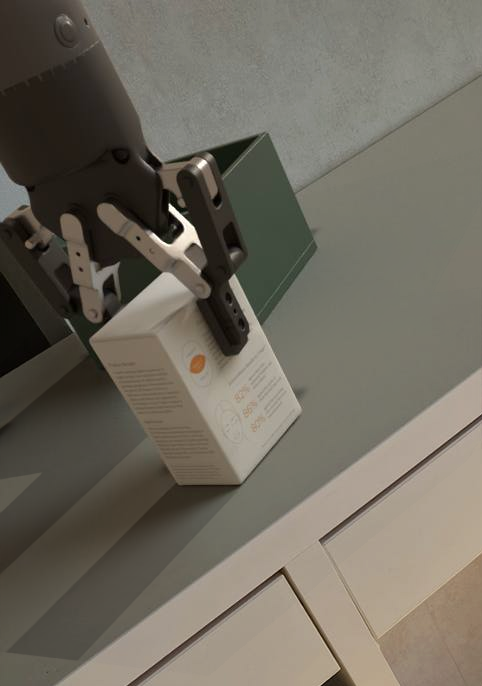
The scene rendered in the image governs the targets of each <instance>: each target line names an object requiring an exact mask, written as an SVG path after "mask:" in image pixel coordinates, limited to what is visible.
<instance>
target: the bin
mask: <svg viewBox="0 0 482 686" xmlns="http://www.w3.org/2000/svg"><path fill="white" fill-rule="evenodd" d="M269 133H270V132H269V131H263V132H259V133H255V134H253V135H249V136H246V137H242V138H239V139H236V140H232V141H229V142H227V143H226V142H225V143H222V144H219V145H216V146H213V147H208V148H205V149H202V150H199V151H195V152H193V153H189V154H186V155H183V156H178V157H175V158H172V159H169V160H166V161H163V162H164V163H165V164H170V163H178V162H186V161H190V160H191V159H192V158H193V157H194V156H195V155H196V154H197V153H199V152H201V151H205V152H208V153H209V154H211V155H212V156H213V157H214V159H215V161H216V163H217V166H218V169H219V172H220V175H221V177H222V180H223V183H224V186H225V189H226V191H227V194H228V197H229V200H230V203H231V206H232V208H233V211H234V214H235V217H236V220H237V222H238V225H239V228H240V231H241V234H242V236H243V239H244V242H245V245H246V248H247V251H248V257H247V259H246V260H245V261H244V262H243V264H242V265H241V266H240V267H239V269H238V270H237V271H236V272H235V273H234V274H235V276H236V278H237V280H238V282H239V284H240V286H241V288H242V290H243V292H244V294H245V296H246V298H247V300H248V302H249V304H250V306H251V308H252V310H253V312H254V314H255V316H256V318H257V320H258V322H259V324H260V326H261V327H262V325H263V324H264V322H265V321H266V320H267V318H268V317H269V315H270V314H271V313H272V311H273V310H274V308H275V307H276V306H277V305H278V303H279V301H280V300H281V299H282V297H283V296H284V295H285V293H286V292H287V291H288V289H289V288H290V287H291V285H292V284H293V283H294V281H295V280H296V278H297V277H298V276H299V274H300V273H301V272H302V270H303V269H304V267H305V266H306V265H307V264H308V262H309V260H310V259H311V257H312V256H313V254H314V253H315V252H316V251H317V249H319V248H318V244H317V243H316V240H315V238H314V236H313V234H312V231H311V228H310V227H309V224H308V222H307V219H306V217H305V215H304V213H303V210H302V208H301V206H300V203H299V201H298V199H297V196H296V194H295V191H294V189H293V187H292V184H291V182H290V180H289V177H288V176H287V173H286V170H285V168H284V165H283V164H282V161H281V159H280V156H279V154H278V152H277V149H276V147H275V144H274V143H273V140H272V139H271V138H272V137H271V136H270V134H269ZM177 200H178V198H177V197H176V195H175V194H174V193H173V192H172V191H170V201H169V203H170V204H171V205H172V206H173V207H174V208H175V209H176V210H177V211H178V212H179V213H180V214H181V215H182V216H183V217H184V218H185V219H186V220H187V221H188V222H189V223H190V224H191V225H192V226H193V227H194V225H193V223H192V220H191V218H190V215H189V212H188V210H187V208H186V207H184V208H182V207H180V206H179V205H178V203H177ZM53 236H54V238H55V239H56V240H57V242H58V243H59V245H60V246H61V247H62V249H63V250H64V252H65V253H66V254H67V256H68V257H69V255H68V249H67V243H66V242H65V241H63V240H62V239H61V238H59V237H58V236H56V235H55V234H54V233H53ZM163 242H164V243H166V244H172V243H173V239H172V237H171V236H170V235H169V234H168V233H167V234H166V236H165V238H164V240H163ZM162 273H163V272H162V271H160V270H159V269H158V268H157V267H156V266H154V265H153V264H152V263H151V262H150V261H149V260H148V259H147V258H146V257H144V258H140V259H122V260H121V261H120V265H119V268H118V277H119V284H120V291H121V301H120V303H121V304H122V305H123V304H127V303H130V302H131V301H132V300H133V299H134V298H135V297H136V296H138V295H139V294H140V293H141V292H142V291H143V290H144V289H145V288H147V287H148V286H149V285H150V284H151V283H152V282H153V281H154V280H155V279H156V278H158V277H159V276H160V275H161V274H162ZM54 275H55V277H56V279H57V280H58V282H59V283H60V284H61V286H62V287H63V288H64V290H65V291H66V290H67V289H66V287H65V286H64V285H63V283H62V282H61V281H60V279H59V278H58V276H57V275H56V274H55V272H54ZM67 320H68V322H69V324H70V325H71V327H72V328H73V331H74V332H75V333H76V335H77V336H78V338H79V340H80V341H81V343H82V344H83V347H85V350H86V351H87V353H88V354H89V355H90V357H91V359H92V360H93V362H94V364H95V365H96V367H97V369H98V370H103V369H106V368H105V367H104V365H103V364H102V362H101V361H100V359H99V357H98V356H97V354H96V352H95V351H94V349H93V348H92V346H91V344H90V342H89V339H90V338H91V337H92V336H93V335H94V334H96V333H97V332H98V331H99V330H100V328H99V326H98V325H97V323H93V322H91V321H89V320H88V319H87V318H86V317H83V316H77V315H74V316H73V317H72V318H71V319H67Z"/></svg>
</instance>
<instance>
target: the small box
mask: <svg viewBox="0 0 482 686" xmlns="http://www.w3.org/2000/svg"><path fill="white" fill-rule="evenodd" d="M229 284H230V287H231V289H232V291H233V293H234V295H235V297H236V299H237V301H238V303H239V305H240V307H241V309H242V311H243V313H244V315H245V317H246V319H247V321H248V323H249V329H250V332H249V334H248V342H247V344H246V345H245V346H244V348H243V349H242V351H241V352H240V353H239V354H238V355H235V356H230V357H226V356H224V354H223V353H222V351H221V349H220V347H219V345H218V344H217V342H216V340H215V338H214V336H213V334H212V332H211V330H210V328H209V327H208V325H207V323H206V321H205V319H204V317H203V315H202V313H201V311H200V310H199V308H198V306H197V304H196V301H197V300H198V297H197V296H195V295H194V294H193V293H192V292H191V291H190V290H189V289H188V288H187V287H186V286H184V285H183V284H182V283H181V282H180V281H179V280H178V279H177V278H176V277H175V276H174V275H173V274H171V273H165V272H163V273H162V274H161V275H160V276H159V277H158V278H156V279H155V280H154V281H153V282H152V283H151V284H150V285H149V286H148V287H147V288H145V289H144V290H143V291H142V292H141V293H140V294H139V295H138V296H136V297H135V298H134V299H133V300H132V301H131V302H130V303H129V304H128V305H127V306H125V307H124V308H123V309H122V310H121V311H120V312H119V313H118V314H117V315H116V316H114V317H113V318H112V319H111V320H110V321H109V322H108V323H107V324H106V325H104V326H103V327H102V328H101V329H100V330H99V331H98V332H97V333H96V334H94V335H93V336H92V337H91V338H90V339H89V342H90V344H91V346H92V348H93V349H94V351H95V352H96V354H97V356H98V357H99V359H100V361H101V362H102V364H103V365H104V367H105V368H104V369H105V370H106V372H107V373H108V375H109V376H110V378H111V380H112V381H113V383H114V385H115V387H116V388H117V389H118V392H120V395H121V396H122V398H123V399H124V401H125V402H126V404H127V405H128V407H129V409H130V410H131V412H132V413H133V415H134V417H135V419H136V420H137V421H138V423H139V425H140V426H141V428H142V430H143V432H144V433H145V434H146V436H147V437H148V439H149V441H150V442H151V444H152V445H153V447H154V449H155V450H156V452H157V454H158V455H159V457H160V458H161V460H162V462H163V464H165V466H166V468H167V470H168V471H169V473H170V474H171V476H172V477H173V479H174V480H175V482H176V484H178V485H179V486H202V485H203V486H223V485H224V486H232V485H233V486H235V485H236V486H237V485H242V484H243V483H244V482H245V481H246V479H247V478H248V477H249V475H251V474H252V473H253V471H254V470H255V468H256V467H257V466H258V465H259V464H260V463H261V462H262V460H263V459H264V458H265V457H266V455H268V453H269V452H270V451H271V450H272V448H273V447H274V446H275V445H276V444H277V443H278V441H279V440H280V439H281V438H282V437H283V435H284V434H285V433H286V432H287V430H288V429H289V428H290V427H291V426H292V424H293V423H294V422H295V421H296V420H297V418H298V417H299V416H300V415H301V414H302V411H303V410H302V408H301V407H302V406H301V405H300V403H299V401H298V399H297V397H296V395H295V393H294V391H293V389H292V387H291V385H290V383H289V381H288V379H287V376H286V374H285V373H284V371H283V369H282V366H281V365H280V363H279V360H278V359H277V357H276V354H275V353H274V351H273V349H272V346H271V345H270V343H269V340H268V338H267V336H266V333H264V330H263V328H262V325H261V326H260V324H259V322H258V320H257V318H256V316H255V314H254V312H253V310H252V308H251V306H250V304H249V302H248V300H247V298H246V296H245V294H244V292H243V290H242V288H241V286H240V284H239V282H238V280H237V278H236V276H235V274H234V275H233V276H232V277H231V278H230V280H229Z"/></svg>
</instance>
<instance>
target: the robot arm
mask: <svg viewBox="0 0 482 686" xmlns="http://www.w3.org/2000/svg"><path fill="white" fill-rule="evenodd" d="M200 151H201V152H199V151H198V152H199V153H197V154H196V155H195V156H194V157H193V158H192V159H191V160H190V161H186V162H178V163H170V164H165V163H164V162H165V161H163V159H162V158H160V157H159V156H158V155H157V154H156V153H155V152H154V151H153V149H151V148H150V146H149V145H148V143H147V142H146V140H145V136H144V134H143V129H142V124H141V119H140V116H139V113H138V111H137V110H136V108H135V105H134V104H133V102H132V99H131V98H130V95H129V93H128V92H127V90H126V88H125V86H124V84H123V82H122V80H121V77H120V76H119V74H118V72H117V70H116V68H115V66H114V64H113V62H112V59H111V58H110V56H109V54H108V52H107V50H106V48H105V46H104V44H103V42H102V40H101V38H100V36H99V34H98V32H97V31H96V28H95V26H94V25H93V23H92V20H91V18H90V16H89V14H88V13H87V11H86V8H85V7H84V5H83V3H82V0H0V165H1V167H2V168H3V170H4V172H5V173H6V175H7V177H8V178H9V180H11V182H12V183H14V184H16V185H18V186H21V187H24V189H25V190H26V193H27V195H28V199H29V200H28V201H29V205H28V204H22V205H20V206H19V207H17V208H16V209H15V210H13V211H12V212H11V213H10V214H8V215H7V216H6V217H5V218H4V219H3V221H1V222H0V240H1V242H3V244H4V245H5V247H6V248H7V249H8V250H9V252H10V253H11V254H12V256H13V257H14V258H15V260H16V261H17V262H18V264H19V265H20V267H21V268H22V270H24V272H25V273H26V275H27V276H28V277H29V278H30V279H31V281H32V282H33V284H34V285H35V286H36V288H37V289H38V290H39V292H40V293H41V294H42V296H43V297H44V299H45V300H46V301H47V302H48V304H49V305H50V307H51V308H52V309H53V310H54V312H55V313H56V314H57V316H59V317H60V318H61V319H64V320H68V319H71V318H72V317H73V316H74V315H77V316H83V317H86V318H87V319H88V320H89V321H91V322H93V323H97V325H98V326H99V328H100V329H101V328H102V327H103V326H104V325H106V324H107V323H108V322H109V321H110V320H111V319H112V318H113V317H114V316H116V315H117V314H118V313H119V312H120V311H121V310H122V309H123V308H124V307H125V306H127V305H128V304H129V303H127V304H123V305H122V304H121V303H120V301H121V291H120V284H119V277H118V268H119V265H120V261H121V260H122V259H140V258H144V257H146V258H147V259H148V260H149V261H150V262H151V263H152V264H153V265H154V266H156V267H157V268H158V269H159V270H160V271H162V272H165V273H171V274H173V275H174V276H175V277H176V278H177V279H178V280H179V281H180V282H181V283H182V284H183V285H184V286H186V287H187V288H188V289H189V290H190V291H191V292H192V293H193V294H194V295H195V296H197V297H198V300H197V301H196V304H197V306H198V308H199V310H200V311H201V313H202V315H203V317H204V319H205V321H206V323H207V325H208V327H209V328H210V330H211V332H212V334H213V336H214V338H215V340H216V342H217V344H218V345H219V347H220V349H221V351H222V353H223V354H224V356H226V357H230V356H235V355H238V354H239V353H240V352H241V351H242V349H243V348H244V346H245V345H246V344H247V342H248V334H249V332H250V329H249V323H248V321H247V319H246V317H245V315H244V313H243V311H242V309H241V307H240V305H239V303H238V301H237V299H236V297H235V295H234V293H233V291H232V289H231V287H230V284H229V280H230V278H231V277H232V276H233V275H234V273H235V272H236V271H237V270H238V269H239V267H240V266H241V265H242V264H243V262H244V261H245V260H246V259H247V257H248V251H247V248H246V245H245V242H244V239H243V236H242V234H241V231H240V228H239V225H238V222H237V220H236V217H235V214H234V211H233V208H232V206H231V203H230V200H229V197H228V194H227V191H226V189H225V186H224V183H223V180H222V177H221V175H220V172H219V169H218V166H217V163H216V161H215V159H214V157H213V156H212V155H211V154H209V153H208V152H205V151H202V150H200ZM170 191H172V192H173V193H174V194H175V195H176V197H177V198H178V200H177V203H178V205H179V206H180V207H182V208H184V207H186V208H187V210H188V212H189V215H190V218H191V220H192V223H193V225H194V227H193V226H192V225H191V224H190V223H189V222H188V221H187V220H186V219H185V218H184V217H183V216H182V215H181V214H180V213H179V212H178V211H177V210H176V209H175V208H174V207H173V206H172V205H171V204H170V203H169V201H170ZM167 233H168V234H169V235H170V236H171V237H172V239H173V243H172V244H166V243H164V242H163V240H164V238H165V236H166V234H167ZM53 234H55V235H56V236H58V237H59V238H61V239H62V240H63V241H65V242H66V243H67V249H68V255H69V257H68V256H67V254H66V253H65V252H64V250H63V249H62V247H61V246H60V245H59V243H58V242H57V240H56V239H55V238H54V236H53ZM54 272H55V274H56V275H57V276H58V278H59V279H60V281H61V282H62V283H63V285H64V286H65V287H66V289H67V290H66V291H65V290H64V288H63V287H62V286H61V284H60V283H59V282H58V280H57V279H56V277H55V275H54Z"/></svg>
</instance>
